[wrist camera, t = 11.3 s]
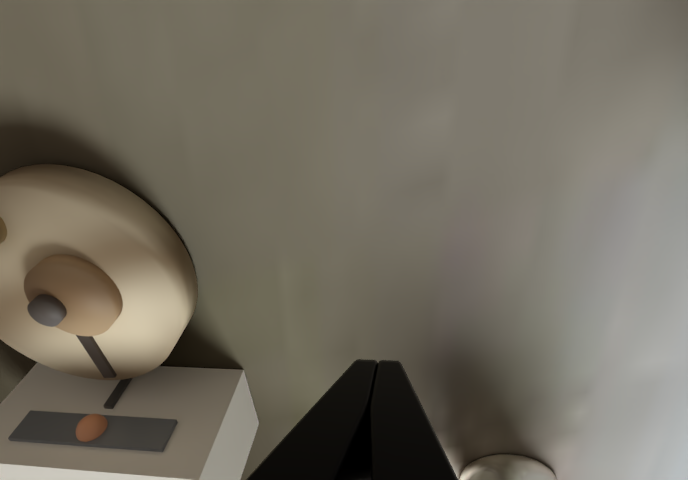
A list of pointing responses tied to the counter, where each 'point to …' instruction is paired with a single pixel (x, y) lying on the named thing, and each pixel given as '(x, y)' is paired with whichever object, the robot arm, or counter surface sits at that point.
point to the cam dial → (89, 274)
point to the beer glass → (507, 469)
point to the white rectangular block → (128, 426)
